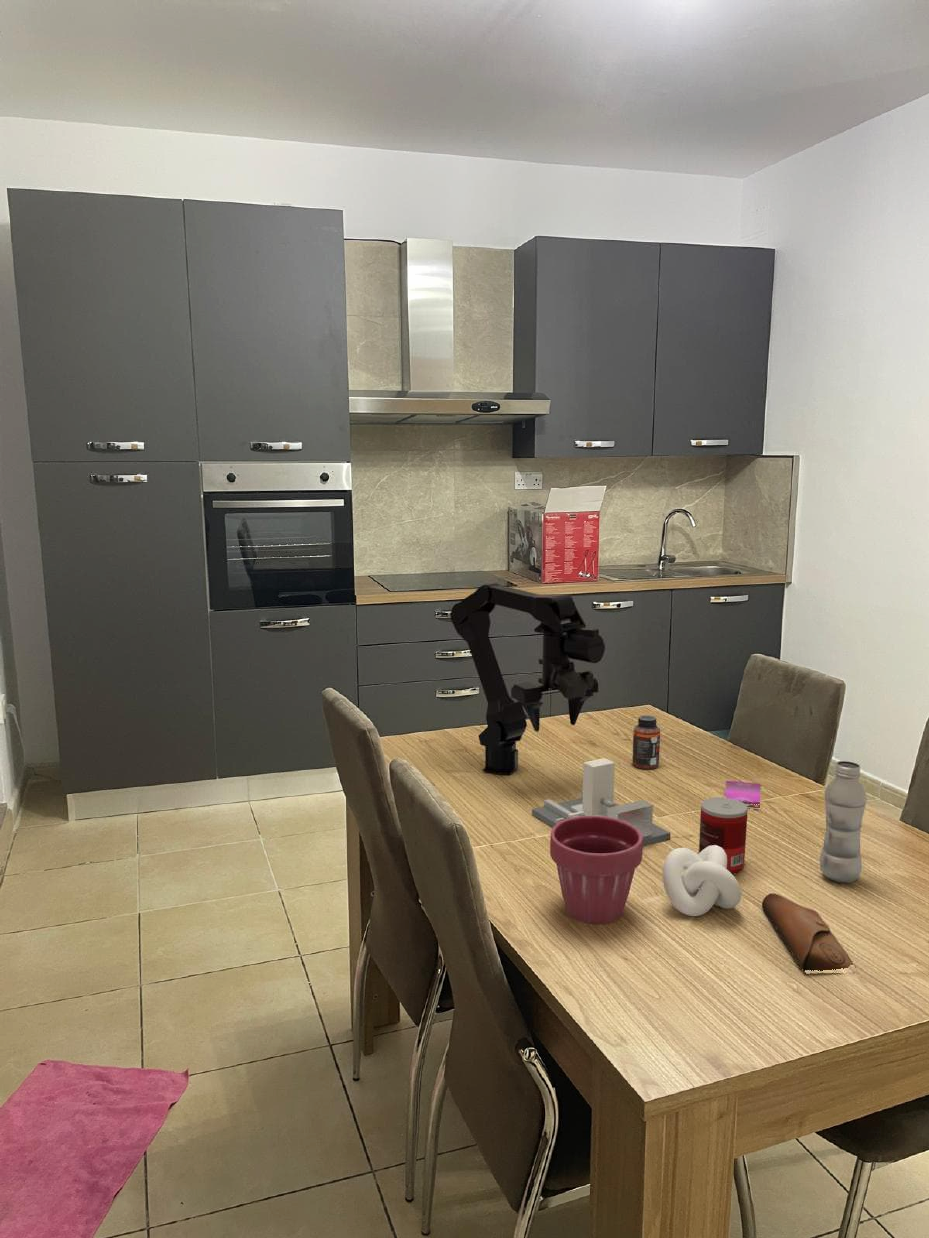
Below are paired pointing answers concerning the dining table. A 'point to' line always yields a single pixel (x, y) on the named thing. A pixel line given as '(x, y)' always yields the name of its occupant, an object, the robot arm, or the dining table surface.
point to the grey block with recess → (635, 815)
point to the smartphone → (744, 793)
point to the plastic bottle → (843, 824)
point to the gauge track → (560, 811)
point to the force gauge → (596, 789)
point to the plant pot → (595, 865)
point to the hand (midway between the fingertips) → (554, 727)
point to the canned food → (725, 829)
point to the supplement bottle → (646, 743)
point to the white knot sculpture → (699, 880)
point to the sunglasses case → (805, 935)
